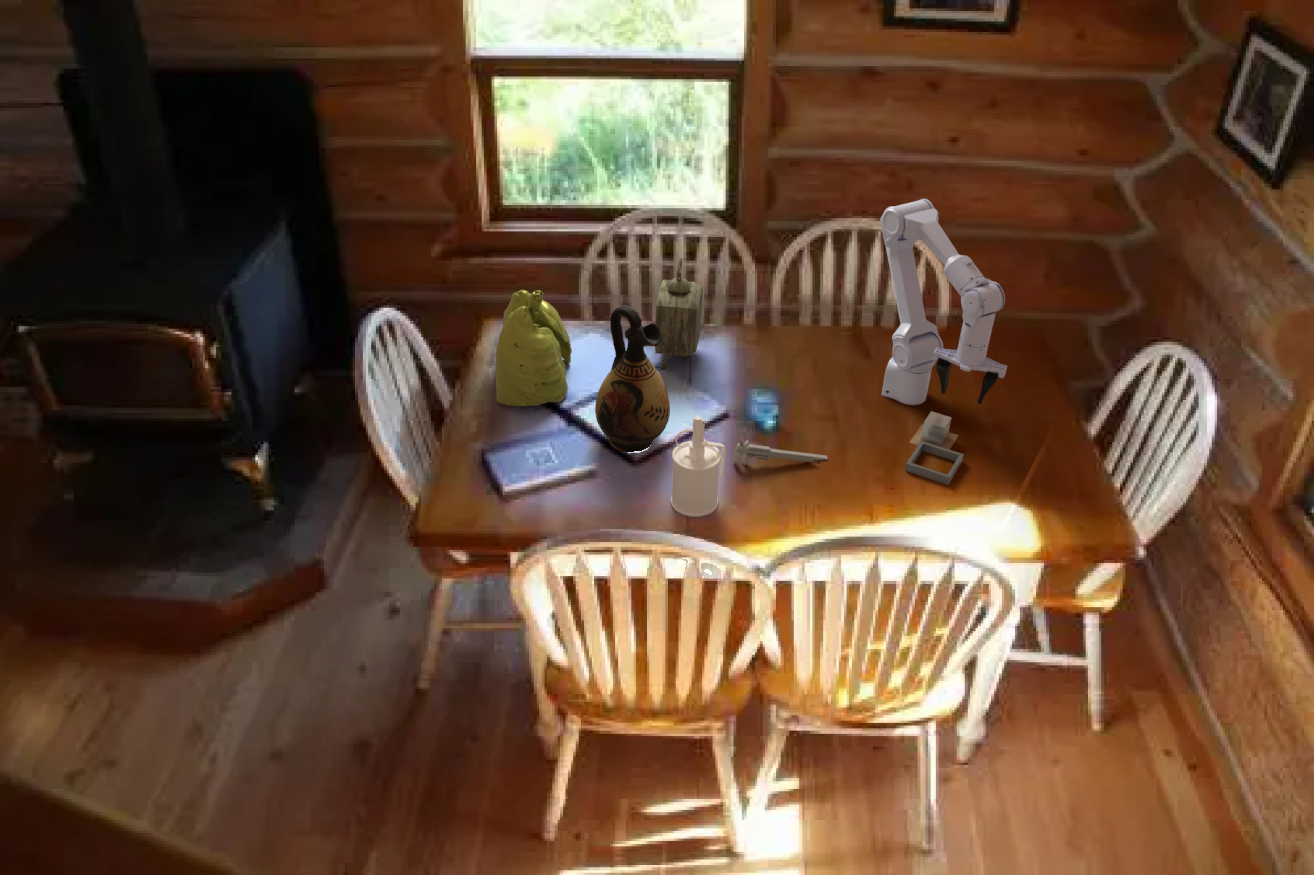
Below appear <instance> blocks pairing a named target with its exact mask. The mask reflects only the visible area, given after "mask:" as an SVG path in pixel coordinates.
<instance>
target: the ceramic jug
mask: <svg viewBox="0 0 1314 875" xmlns="http://www.w3.org/2000/svg"><path fill="white" fill-rule="evenodd" d="M622 318H626V319H627V321H628V323H629V327H628V328H627V329H626V330H625V331H624V332H623V325H622V323H621V322H622ZM609 320H610V333H611V337H612V338H611V339H612V344H613V348H614V352H615V357H614V358H613V361H612V362H613V363H612V364H611V365H612V366H611V368H610V371H609V372H608V373H607V375H606V376H605V378H604V379H603V381H602V383H601V384H600V387H599V389H598V393H597V396H596V400H595V404H594V405H595V407H594V411H595V412H594V413H595V419H596V422H597V425H598V426H599V428H600V430H601V431H602V433H603V434H604V436H606V437H607V439H608V442H609V444H610V446H611V447H612V448H614V450H616V451H618V452H620V453H621V454H623V453H622V452H626V453H627V452H634V451H642V450H644V449H646V448H648V447H650V445H651V444H652V442H653V443H654V441H655V440H656V439H657V438H659V437H660V436H661V435H662V434H663V432H664V431H665V429H666V427H667V425H668V423H669V420H670V416H671V415H670V414H671V404H670V398H669V392H668V389H667V386H666V384H665V382H664V379H663V378H662V376H661V374H660V373H659V371H658V370H657V368H656V366H655V365H654V364H653V363H652V362H651V360H650V359H649V358H648V356H647V354H646V352H645V349H644V348H645V347H655V346H659V345H660V344H661V343H662V340H663V339H662V335H661V332H660V329H659V328H658V327H657V325H656V324H655V322H654V323H653V322H652V323H650V324H647V325H644V326H642V322H643V321H642V318H641V316H640V313H639V312H638V311H637V310H636V309H635V308H634V307H632V306H629V305H626V304H624V305H620V306H618V307H616V308H615V309H614V310H613V311H612V313H611V314H610V319H609ZM624 338H626V339H627V347H626V342H625V340H624ZM652 445H653V444H652ZM650 448H651V447H650Z"/></svg>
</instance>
